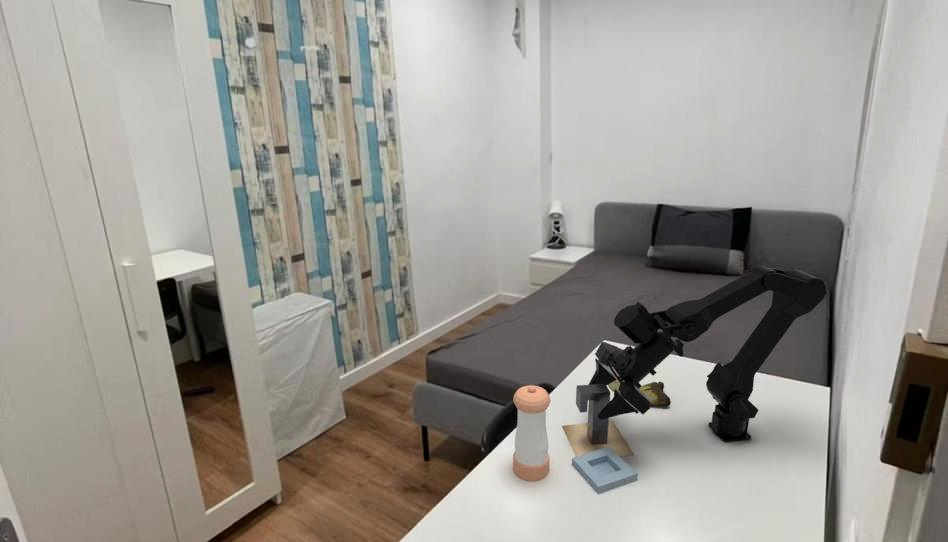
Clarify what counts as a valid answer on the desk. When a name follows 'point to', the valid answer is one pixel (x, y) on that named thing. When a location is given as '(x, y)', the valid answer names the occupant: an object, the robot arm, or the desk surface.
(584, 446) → the tan metal pad
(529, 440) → the salt shaker
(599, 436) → the grey hook block
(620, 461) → the square socket block
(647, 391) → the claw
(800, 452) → the desk surface
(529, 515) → the desk surface
